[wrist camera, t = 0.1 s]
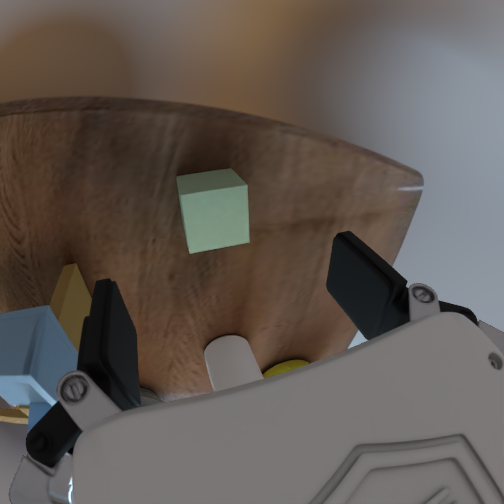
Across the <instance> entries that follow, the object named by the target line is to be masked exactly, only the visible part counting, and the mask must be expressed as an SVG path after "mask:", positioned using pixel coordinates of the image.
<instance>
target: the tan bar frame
mask: <svg viewBox="0 0 504 504" xmlns="http://www.w3.org/2000/svg"><path fill="white" fill-rule="evenodd" d="M91 303H92V298H91V296H90V294H89V291H88V289H87V287H86V285H85V282H84V280H83V278H82V275H81V273H80V271H79V268H78V266H77V263H74V264H69V265H65V266H64V267H63V269H62V272H61V274H60V277H59V279H58V282H57V285H56V288H55V290H54V293H53V296H52V299H51V302H50V305H49V306H50V308H51V310H52V312H53V313H54V315H55V317H56V318H57V320H58V322H59V323H60V325H61V327H62V328H63V330H64V331H65V333H66V335H67V336H68V338H69V339H70V341H71V342H72V344H73V345H74V347H75V348H76V350H77V351H78V352H79V345H80V339H81V332H82V326H83V321H84V318H85V317H86V316H89V314H90V308H91ZM13 406H14V407H16V406H17V405H13Z"/></svg>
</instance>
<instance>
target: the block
mask: <svg viewBox="0 0 504 504" xmlns="http://www.w3.org/2000/svg"><path fill="white" fill-rule="evenodd" d="M176 180H177V187H178V195H179V202H180V208H181V215H182V222H183V227H184V232H185V236H186V241H187V245H188V249H189V253H190V254H191V253H196V252H201V251H206V250H211V249H217V248H222V247H227V246H232V245H237V244H243V243H248V242H249V213H248V185H247V184H246V183H245V182H244V181H243V180H242V179H241V178H240V177H239V176H238V175H237V174H236V173H235V172H234V171H233V170H232V169H231V168H230V169H222V170H215V171H208V172H201V173H194V174H188V175H182V176H177V177H176Z"/></svg>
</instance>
